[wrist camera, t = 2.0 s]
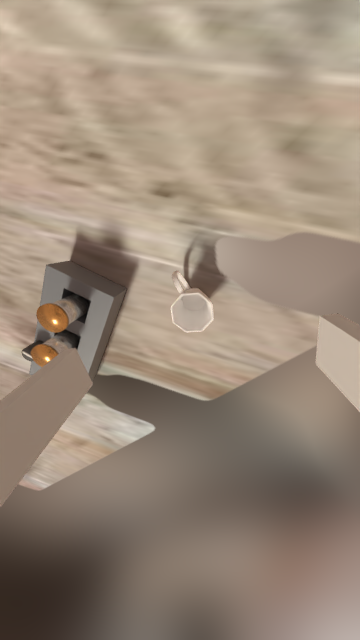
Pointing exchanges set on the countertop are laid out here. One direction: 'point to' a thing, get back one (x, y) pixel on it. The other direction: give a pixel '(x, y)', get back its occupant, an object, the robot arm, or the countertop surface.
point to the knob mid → (54, 347)
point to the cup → (190, 307)
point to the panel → (92, 324)
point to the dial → (27, 350)
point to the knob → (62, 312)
